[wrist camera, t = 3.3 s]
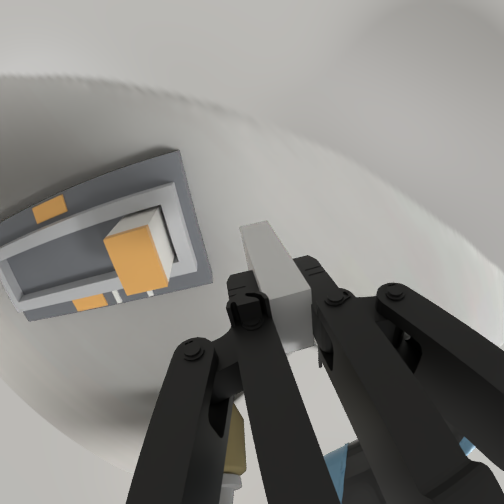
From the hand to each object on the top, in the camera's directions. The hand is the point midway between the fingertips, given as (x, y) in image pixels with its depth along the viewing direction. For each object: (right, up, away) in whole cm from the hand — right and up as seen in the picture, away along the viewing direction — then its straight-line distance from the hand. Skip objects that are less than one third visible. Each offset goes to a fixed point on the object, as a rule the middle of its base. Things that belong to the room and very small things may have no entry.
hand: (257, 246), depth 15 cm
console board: (-17, 0, +8) cm, 19 cm away
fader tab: (-9, +1, +7) cm, 11 cm away
